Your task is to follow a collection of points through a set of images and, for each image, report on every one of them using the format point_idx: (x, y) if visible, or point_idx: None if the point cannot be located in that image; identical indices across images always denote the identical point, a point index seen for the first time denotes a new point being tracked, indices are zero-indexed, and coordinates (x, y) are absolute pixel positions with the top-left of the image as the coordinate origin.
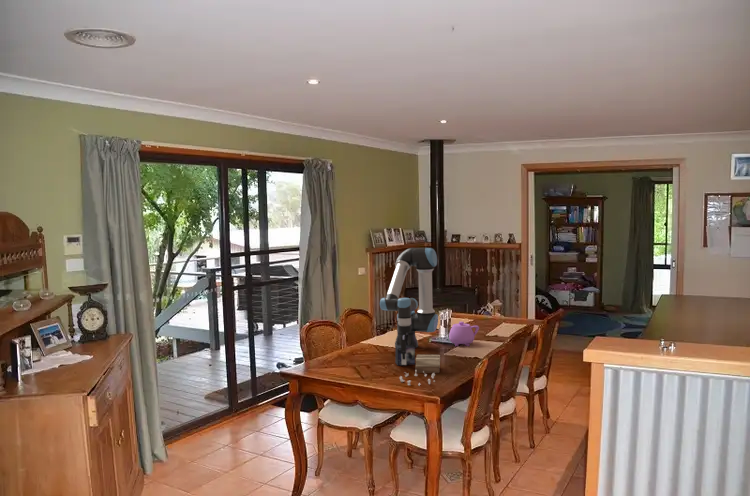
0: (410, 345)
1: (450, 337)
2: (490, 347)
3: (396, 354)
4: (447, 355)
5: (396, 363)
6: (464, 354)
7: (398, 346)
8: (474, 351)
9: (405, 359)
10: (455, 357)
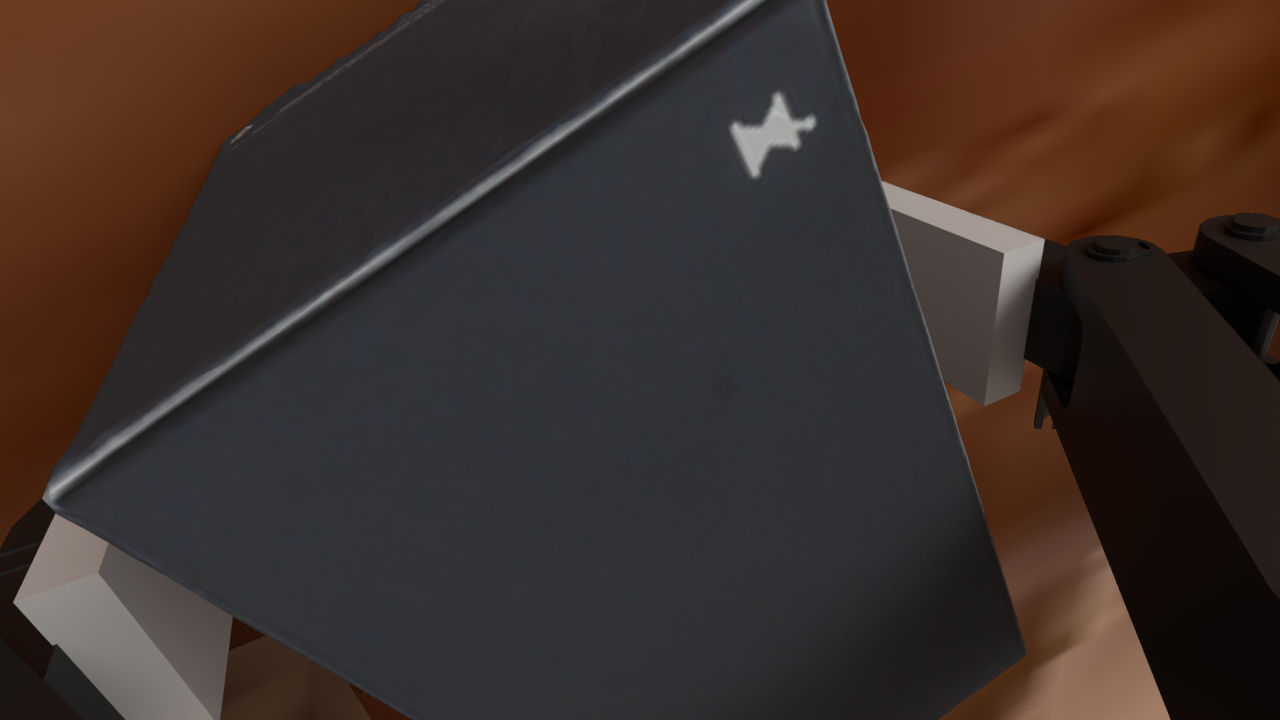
0: (911, 689)
1: None
2: None
3: (368, 104)
4: (1066, 594)
5: (368, 45)
6: (1080, 694)
7: (629, 311)
8: (1157, 697)
9: None
10: (982, 697)
